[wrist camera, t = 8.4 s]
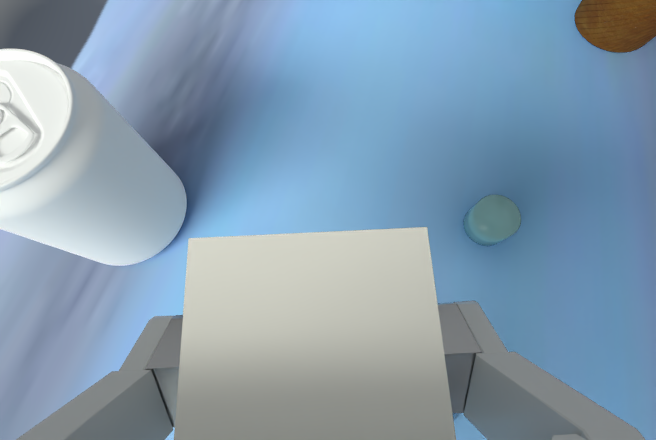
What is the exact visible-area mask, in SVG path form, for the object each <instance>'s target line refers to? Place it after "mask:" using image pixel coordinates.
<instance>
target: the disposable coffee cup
mask: <svg viewBox="0 0 656 440" xmlns="http://www.w3.org/2000/svg"><path fill="white" fill-rule="evenodd" d="M575 23H576V27H577V29H578V31H579V32H580V34H581V35H582V36H583V37H584V38H585V39H586V40H587V41H588V42H590V43H591V44H593V45H594V46H596V47H599V48H601V49H604V50H607V51H611V52H631V51H634V50H636V49H638V48H640V47H642V46H643V45H645V44H646V43H647V42H648V41H650V40H651V39H652V38H654V37H655V36H656V0H582V1H581V3H580V5H579V6H578V8H577V10H576V13H575Z"/></svg>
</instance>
